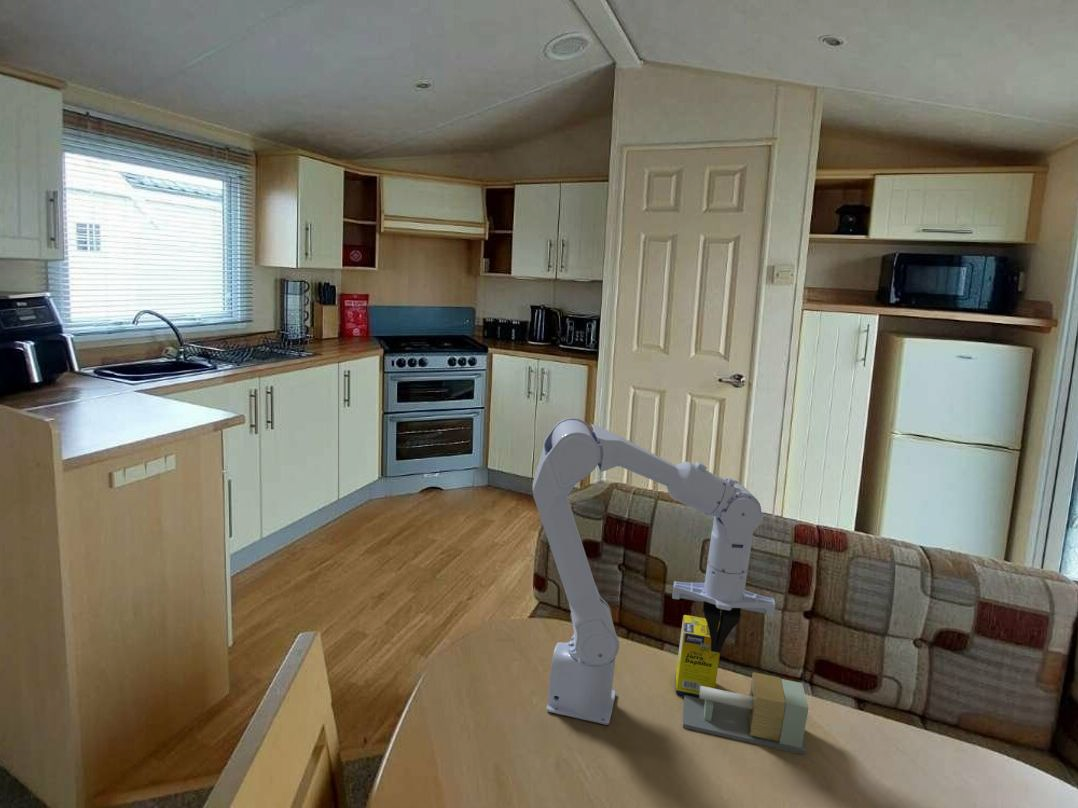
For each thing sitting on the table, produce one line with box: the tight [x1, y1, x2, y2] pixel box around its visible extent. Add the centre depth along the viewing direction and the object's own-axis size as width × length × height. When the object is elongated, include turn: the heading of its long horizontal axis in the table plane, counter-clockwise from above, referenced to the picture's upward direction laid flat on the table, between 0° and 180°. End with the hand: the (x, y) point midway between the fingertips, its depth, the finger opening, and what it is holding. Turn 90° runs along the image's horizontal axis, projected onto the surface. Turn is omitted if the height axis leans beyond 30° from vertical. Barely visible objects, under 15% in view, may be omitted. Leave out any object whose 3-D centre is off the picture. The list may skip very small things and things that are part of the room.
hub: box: [747, 671, 786, 741], centre depth 95 cm, size 4×6×6 cm, turn 166°
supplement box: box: [675, 614, 721, 698], centre depth 104 cm, size 6×6×11 cm
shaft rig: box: [682, 678, 809, 756], centre depth 96 cm, size 17×7×7 cm, turn 76°
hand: (715, 648), depth 98 cm, fingers closed
